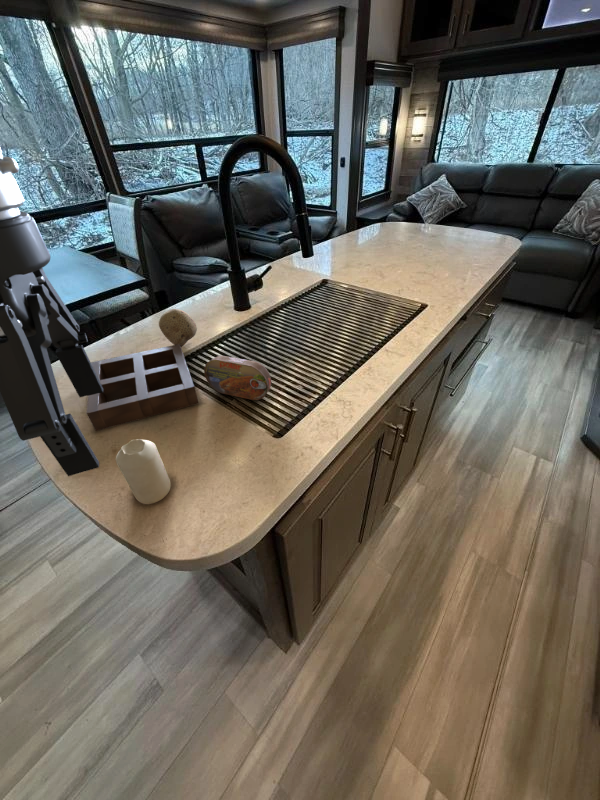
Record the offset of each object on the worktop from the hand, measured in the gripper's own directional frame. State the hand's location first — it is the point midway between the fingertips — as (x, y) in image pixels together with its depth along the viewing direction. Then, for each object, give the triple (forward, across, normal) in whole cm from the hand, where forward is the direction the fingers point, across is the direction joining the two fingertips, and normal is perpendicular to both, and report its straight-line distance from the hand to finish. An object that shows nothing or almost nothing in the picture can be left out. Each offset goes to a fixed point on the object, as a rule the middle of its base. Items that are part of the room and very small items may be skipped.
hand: (88, 426), depth 38 cm
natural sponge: (+19, +52, -14) cm, 57 cm away
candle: (+19, +4, -2) cm, 19 cm away
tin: (+19, +24, -22) cm, 37 cm away
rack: (+19, +34, -3) cm, 38 cm away
